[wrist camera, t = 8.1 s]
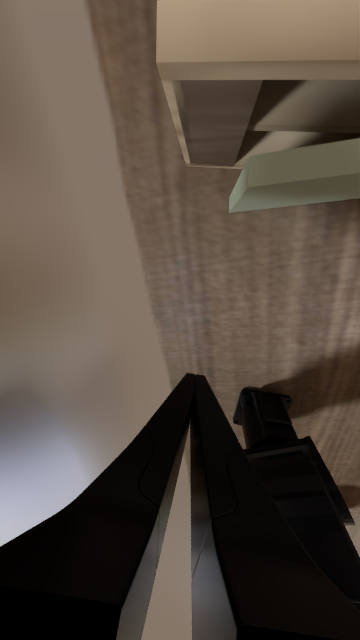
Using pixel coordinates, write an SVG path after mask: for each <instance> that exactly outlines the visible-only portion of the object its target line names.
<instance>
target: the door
mask: <svg viewBox="0 0 360 640" xmlns="http://www.w3.org/2000/svg"><path fill="white" fill-rule="evenodd" d="M358 198H360V138H357V139H351V140H344V141H338V142H332V143H326V144H319V145H313V146H307V147H300V148H294V149H288V150H282V151H275V152H269V153H263V154H256V155H250V156H249V158H248V160H247V162H246V164H245V166H244V168H243V170H242V172H241V174H240V176H239V178H238V180H237V183H236V185H235V187H234V189H233V191H232V193H231V195H230V197H229V213H233V212H242V211H251V210H260V209H269V208H278V207H287V206H296V205H304V204H313V203H322V202H331V201H340V200H349V199H358Z"/></svg>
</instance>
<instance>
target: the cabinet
mask: <svg viewBox="0 0 360 640" xmlns="http://www.w3.org/2000/svg"><path fill="white" fill-rule="evenodd" d="M156 63H157V67H158V70H159V73H160V77H161V80H162V84H163V87H164V91H165V94H166V97H167V101H168V104H169V108H170V111H171V115H172V118H173V121H174V125H175V128H176V132H177V135H178V139H179V142H180V145H181V149H182V152H183V156H184V159H185V162H186V166H188V167H209V168H231V169H243V168H244V166H245V164H246V162H247V160H248V158H249V156H250V155H256V154H263V153H269V152H275V151H282V150H288V149H294V148H300V147H307V146H313V145H319V144H326V143H332V142H338V141H344V140H351V139H357V138H360V0H157V47H156Z"/></svg>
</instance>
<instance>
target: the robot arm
mask: <svg viewBox="0 0 360 640" xmlns="http://www.w3.org/2000/svg"><path fill="white" fill-rule="evenodd" d="M291 404H292V399H291V397H290V396H285V395H278V394H272V393H266V392H260V391H254V390H248V389H243V390H242V391H241V393H240V397H239V400H238V403H237V407H236V410H235V414H234V417H233V422H234V424H238V425H242V428H243V433H244V439H245V444H246V449H243V448H242V447H241V445H240V443H239V442H238V439H237V437H236V435H235V433H234V431H233V429H232V427H231V426H230V424H229V422H228V420H227V418H226V416H225V414H224V412H223V410H222V408H221V406H220V404H219V402H218V400H217V399H216V397H215V395H214V393H213V391H212V389H211V387H210V385H209V383H208V381H207V379H206V377H205V376H204V375H199V374H196V376H195V374H192V373H186V375H185V376H184V377H183V378H182V380H181V381H180V382H179V383H178V385H177V386H176V387H175V388H174V390H173V391H172V392H171V393H170V395H169V396H168V397H167V399H166V400H165V401H164V403H163V404H162V405H161V406H160V407H159V409H158V410H157V411H156V412H155V414H154V415H153V416H152V417H151V419H150V420H149V421H148V422H147V424H146V425H145V426H144V427H143V429H142V430H141V431H140V432H139V434H138V435H137V436H136V437H135V438H134V440H133V441H132V442H131V443H130V444H129V445H128V446H127V448H126V449H125V450H124V451H123V452H122V453H121V454H120V455H119V456H118V457H117V458H116V459H115V460H114V461H113V462H112V463H111V464H110V465H109V466H108V467H107V468H106V469H105V470H104V471H103V472H102V473H101V474H100V475H99V476H98V477H97V478H96V479H95V480H94V481H93V482H92V483H91V484H90V485H89V486H88V487H87V488H86V489H85V490H84V491H83V492H82V493H81V494H80V495H79V496H78V497H77V498H76V499H75V500H74V501H72V502H71V503H70V504H69V505H68V506H66V507H65V508H64V509H62V510H61V511H59V512H58V513H56V514H55V515H53V516H52V517H50V518H48V519H46V520H45V521H43V522H41V523H40V524H38V525H36V526H35V527H33V528H31V529H29V530H28V531H26V532H24V533H23V534H21V535H19V536H18V537H16V538H14V539H13V540H11V541H9V542H7V543H6V544H4V545H2V546H1V547H0V640H141V637H142V632H143V628H144V624H145V619H146V615H147V610H148V606H149V602H150V597H151V593H152V588H153V584H154V580H155V575H156V569H157V566H158V562H159V557H160V553H161V549H162V544H163V540H164V536H165V531H166V527H167V522H168V518H169V513H170V509H171V505H172V500H173V496H174V491H175V487H176V482H177V478H178V474H179V469H180V465H181V461H182V456H183V452H184V447H185V443H186V439H187V434H188V430H189V425H190V477H191V569H192V640H360V557H359V555H358V553H357V551H356V549H355V547H354V545H353V542H352V540H351V538H350V536H349V534H348V532H347V530H346V528H345V525H355V522H354V520H353V518H352V516H351V514H350V512H349V510H348V508H347V506H346V504H345V501H344V499H343V497H342V495H341V493H340V492H339V490H338V488H337V486H336V484H335V482H334V480H333V478H332V476H331V474H330V472H329V470H328V469H327V467H326V465H325V463H324V461H323V459H322V458H321V456H320V454H319V452H318V450H317V448H316V447H315V445H314V443H313V441H312V439H311V437H310V436H307V437H305V438H302V439H298V437H297V435H296V432H295V430H294V428H293V426H292V422H291V419H290V417H289V415H288V413H287V412H288V410H289V408H290V406H291ZM190 418H191V419H190Z"/></svg>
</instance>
